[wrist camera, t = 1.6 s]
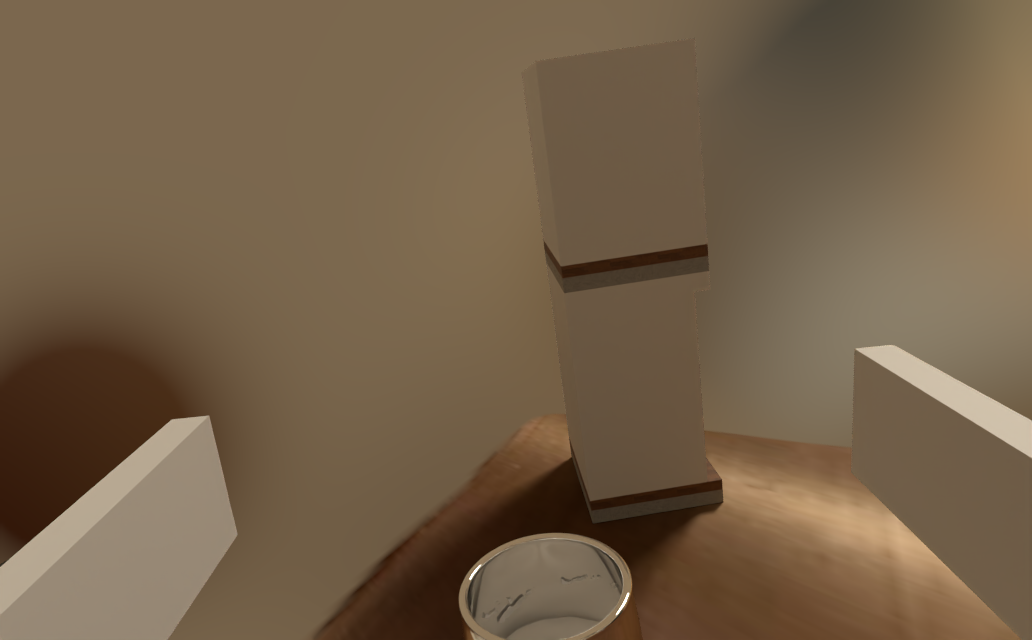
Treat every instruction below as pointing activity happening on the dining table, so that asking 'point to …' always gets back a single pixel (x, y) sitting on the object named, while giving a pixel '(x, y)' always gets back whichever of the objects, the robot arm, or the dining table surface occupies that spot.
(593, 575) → the beer glass
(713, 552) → the dining table surface
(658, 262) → the tall white shelf unit
